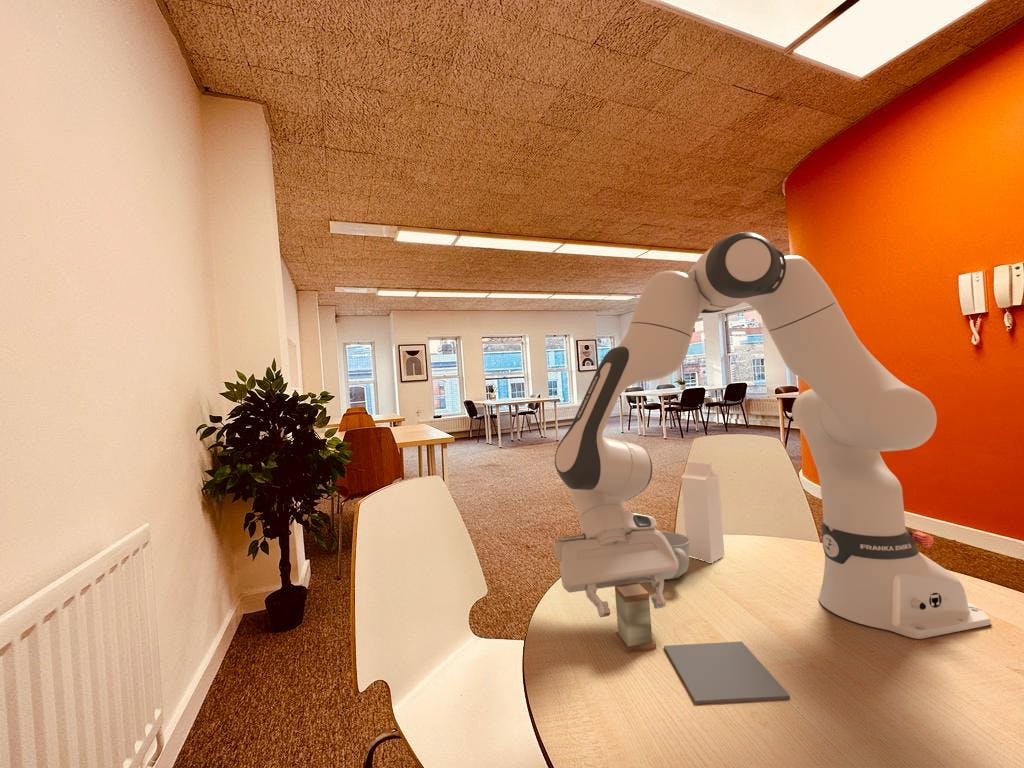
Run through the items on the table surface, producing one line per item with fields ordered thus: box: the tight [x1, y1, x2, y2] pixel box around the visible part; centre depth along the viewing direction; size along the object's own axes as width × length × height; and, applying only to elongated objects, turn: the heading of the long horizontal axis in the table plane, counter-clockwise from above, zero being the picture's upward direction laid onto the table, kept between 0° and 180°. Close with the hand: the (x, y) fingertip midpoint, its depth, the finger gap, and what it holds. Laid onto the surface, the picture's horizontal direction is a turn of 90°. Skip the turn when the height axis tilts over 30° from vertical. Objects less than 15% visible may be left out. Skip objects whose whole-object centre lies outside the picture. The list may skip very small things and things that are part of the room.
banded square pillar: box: [614, 582, 657, 654], centre depth 69 cm, size 5×5×8 cm
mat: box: [663, 641, 791, 705], centre depth 61 cm, size 12×12×1 cm
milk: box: [681, 461, 726, 564], centre depth 101 cm, size 6×6×22 cm
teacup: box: [658, 530, 690, 580], centre depth 92 cm, size 14×11×8 cm
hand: (633, 611), depth 69 cm, fingers open, 8 cm apart
